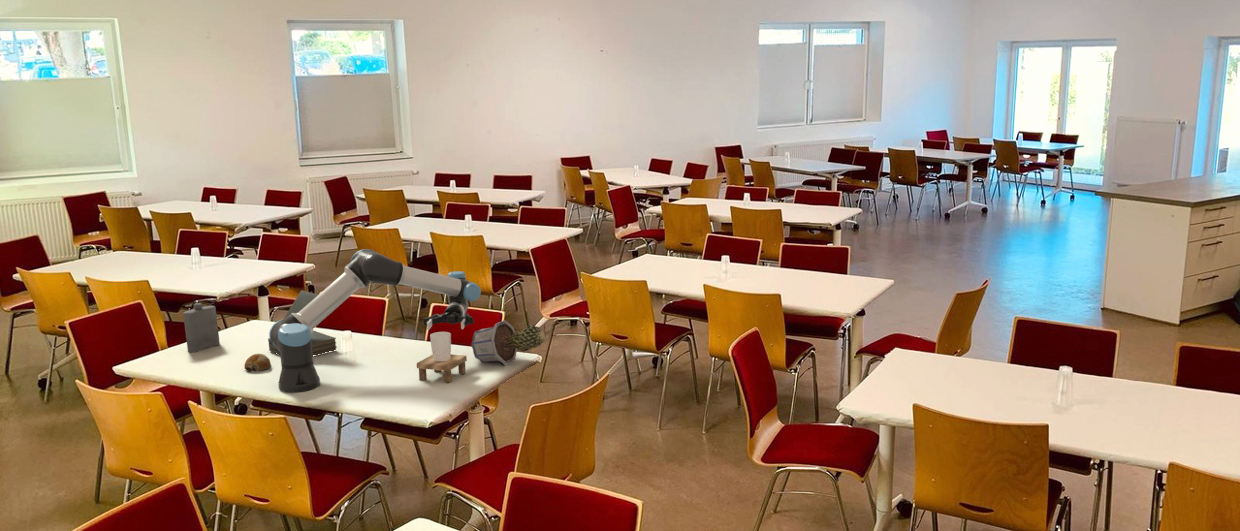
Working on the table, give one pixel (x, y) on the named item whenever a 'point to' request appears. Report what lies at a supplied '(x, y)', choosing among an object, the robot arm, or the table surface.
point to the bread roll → (257, 362)
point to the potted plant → (504, 342)
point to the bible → (319, 340)
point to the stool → (442, 366)
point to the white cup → (441, 346)
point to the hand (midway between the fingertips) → (445, 326)
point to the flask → (201, 327)
